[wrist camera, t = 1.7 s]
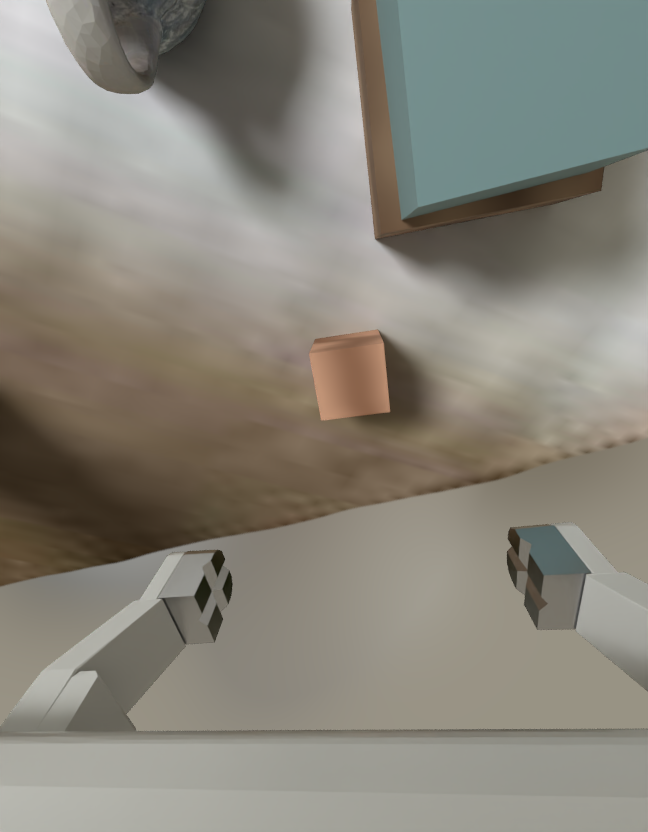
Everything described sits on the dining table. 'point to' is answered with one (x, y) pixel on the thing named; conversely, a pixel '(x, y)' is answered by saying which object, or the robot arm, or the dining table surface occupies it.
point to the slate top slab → (510, 93)
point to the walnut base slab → (383, 154)
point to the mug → (123, 37)
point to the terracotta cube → (350, 375)
